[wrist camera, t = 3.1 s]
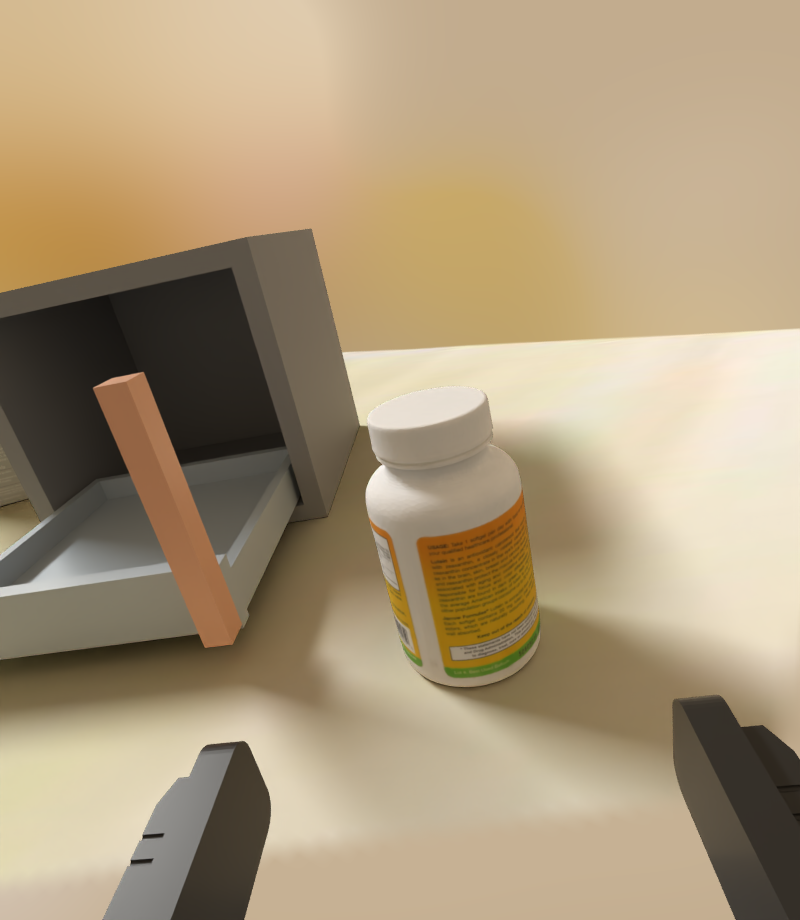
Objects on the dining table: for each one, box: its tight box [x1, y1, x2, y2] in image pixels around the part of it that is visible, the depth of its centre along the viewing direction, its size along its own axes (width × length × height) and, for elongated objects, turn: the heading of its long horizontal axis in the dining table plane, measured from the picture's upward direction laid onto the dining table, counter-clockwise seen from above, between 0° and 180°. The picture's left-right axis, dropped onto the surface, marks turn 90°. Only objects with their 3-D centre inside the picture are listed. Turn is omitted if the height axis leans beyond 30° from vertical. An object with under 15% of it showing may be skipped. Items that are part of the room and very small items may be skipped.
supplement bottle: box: [365, 386, 541, 687], centre depth 20 cm, size 5×5×10 cm
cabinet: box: [0, 229, 360, 523], centre depth 39 cm, size 18×16×16 cm
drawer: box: [0, 372, 301, 660], centre depth 29 cm, size 15×16×11 cm
